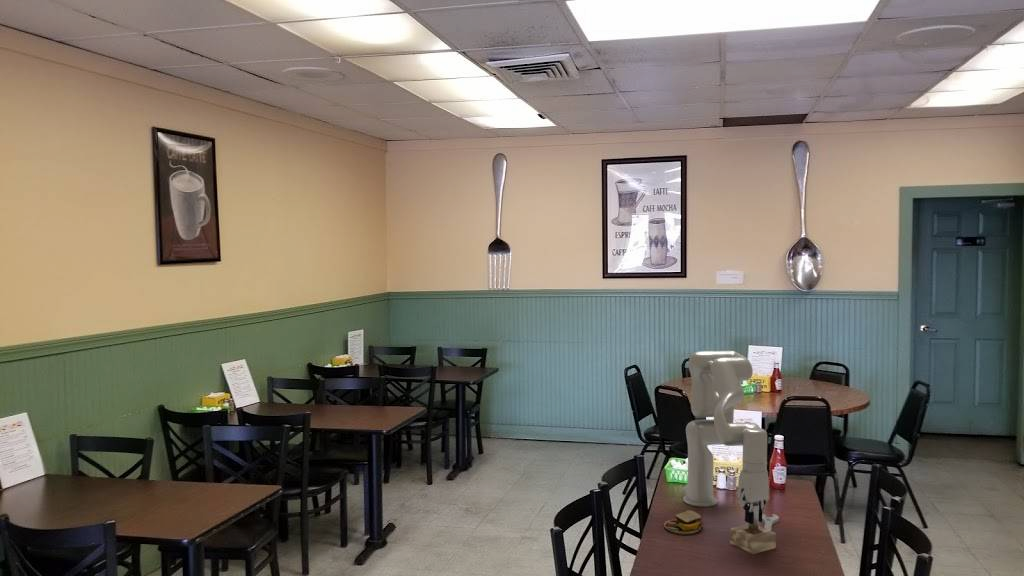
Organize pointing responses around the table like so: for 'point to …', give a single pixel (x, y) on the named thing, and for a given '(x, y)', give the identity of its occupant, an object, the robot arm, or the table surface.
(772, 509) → the table surface
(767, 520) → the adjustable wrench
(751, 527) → the metal peg
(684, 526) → the toy sandwich meal
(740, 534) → the block
